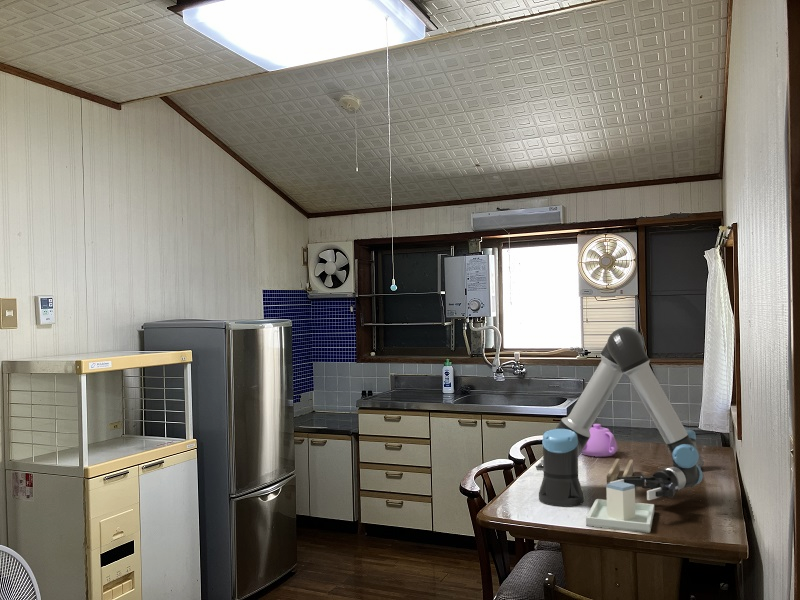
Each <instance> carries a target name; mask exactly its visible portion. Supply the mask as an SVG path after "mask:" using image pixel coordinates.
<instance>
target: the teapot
mask: <svg viewBox="0 0 800 600" xmlns="http://www.w3.org/2000/svg"><path fill="white" fill-rule="evenodd" d="M589 431H590V434H591V436H590V438H589V440H588V442H587V443H586V445H585V446H584V448H583V451H582V452H581V454H582V455H585V456H589V457H594V456H595V457H594V458H602V457H612V456H614V455H615V454H616V453H617V451H618V443H617V441H616V438H615V436H614V434H613V433H612V432H611V430H610V429H609V428H608V427H607V428H606V427H602V424H600V423H593V425H592V426H591V428H590V430H589Z"/></svg>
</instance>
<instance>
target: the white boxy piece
mask: <svg viewBox="0 0 800 600" xmlns="http://www.w3.org/2000/svg"><path fill="white" fill-rule="evenodd" d="M616 481H617V480H616ZM635 488H636V487H635V485H633V484H629V483H624V482H620V481H617V482H613V483H609V484H607V483H606V488H605V489H606V500H607V517H611V518H615V519H618V520H623V521H625V520H628V519H632V518H635V503H636V489H635Z"/></svg>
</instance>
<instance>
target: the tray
mask: <svg viewBox="0 0 800 600" xmlns="http://www.w3.org/2000/svg"><path fill="white" fill-rule="evenodd" d="M654 515H655V504H653V503H643V502H635V518H632V519H628V520H625V521H623V520H618V519H615V518H611V517H607V499H602V498H596V499H595V500H594V502H593V504H592V506H591V508H590V509H589V511H588V513H587V516H586V517H585V520H586V521H585V525H586V527H591V526H594V528H600V527H602V528H603V529H609V528H610V529H612V530H618V529H619V531H630V532H636V531H637V532H639V533H645V534H646V533H647V534H650V533H651V529H652V526H653V519H654ZM602 528H601V529H602Z"/></svg>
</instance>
